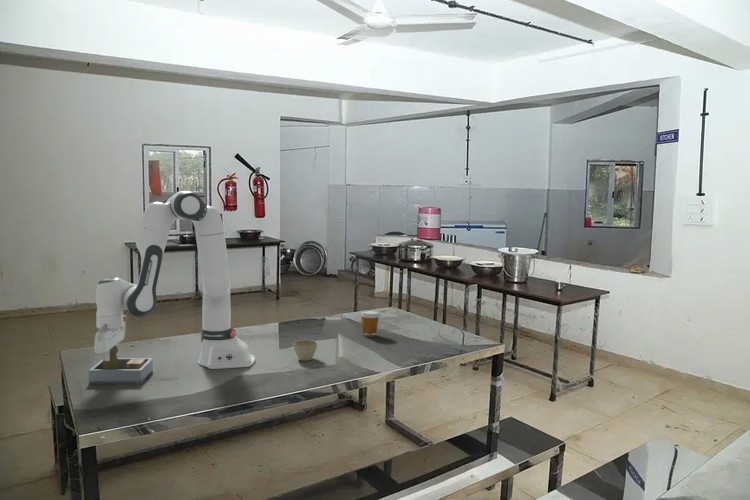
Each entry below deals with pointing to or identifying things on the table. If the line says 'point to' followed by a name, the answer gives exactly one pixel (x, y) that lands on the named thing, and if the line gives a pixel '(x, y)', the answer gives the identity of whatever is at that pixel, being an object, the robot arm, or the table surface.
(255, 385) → the table surface
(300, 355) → the flower pot
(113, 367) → the cork
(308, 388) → the table surface
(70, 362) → the table surface
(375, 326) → the disposable coffee cup
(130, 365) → the tan cube
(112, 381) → the tote
